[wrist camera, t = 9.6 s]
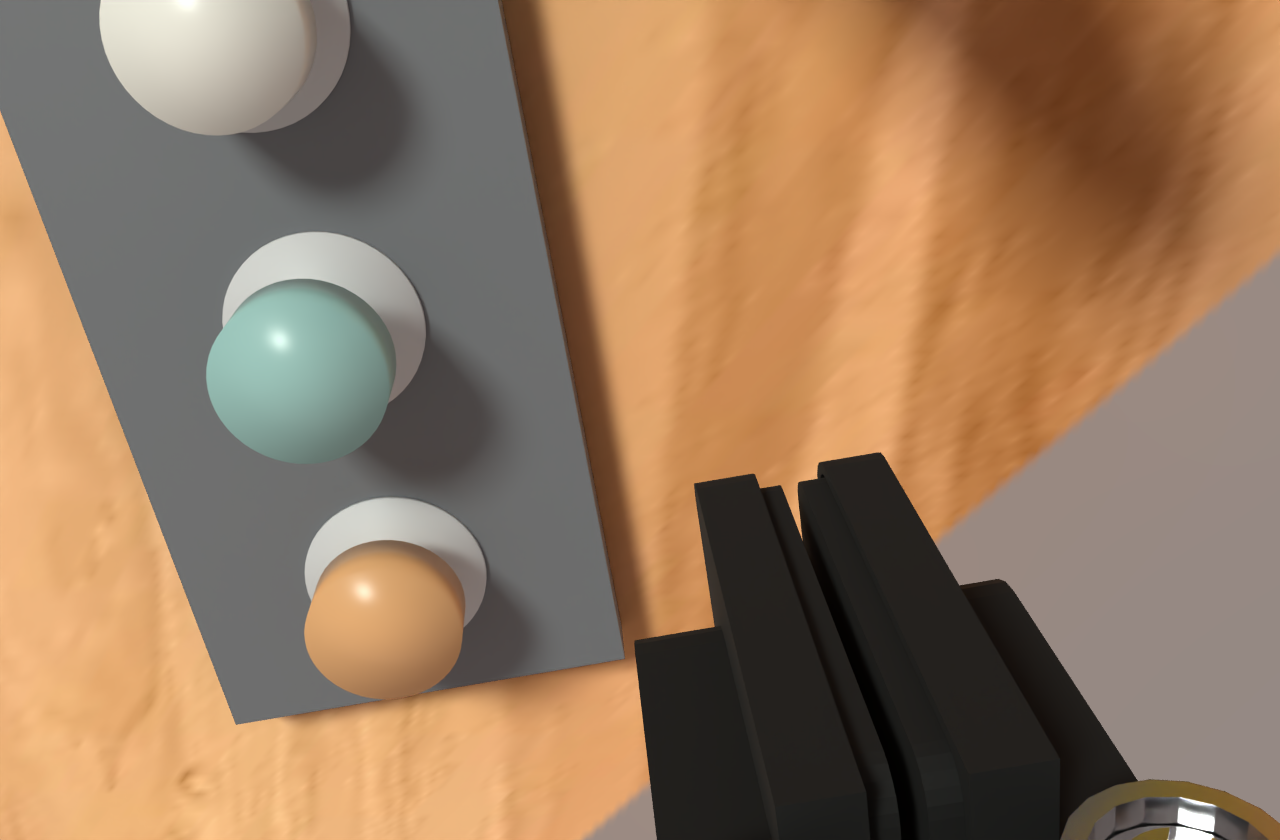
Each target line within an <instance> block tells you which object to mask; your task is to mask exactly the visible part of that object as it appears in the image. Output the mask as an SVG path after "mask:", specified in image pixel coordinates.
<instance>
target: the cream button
mask: <svg viewBox="0 0 1280 840" xmlns="http://www.w3.org/2000/svg"><path fill="white" fill-rule="evenodd" d="M99 19H100V32H101V39H102V42H103V46H104V50H105V53H106V55H107V58H108V60H109V63H110V65H111V67H112V69H113V71H114V73H115V74H116V76H117V78H118V79H119V81H120V82H121V84H122V85H123V87H124V88H125V89H126V91H127V92H128V93H129V94H130V95H131V96H132V97H133V98H134V100H135V101H137V102H138V103H139V104H140V105H141V106H142V107H143V108H144V109H146V110H147V111H148V112H150V113H151V114H152V115H154V116H155V117H157V118H158V119H160V120H162V121H164V122H166V123H167V124H169V125H172V126H174V127H176V128H179V129H181V130H185V131H188V132H192V133H196V134H203V135H216V136H221V135H231V134H236V133H240V132H244V131H247V130H250V129H252V128H255V127H257V126H259V125H260V124H262V123H264V122H266V121H267V120H268V119H270V118H271V117H272V116H274V115H275V114H276V113H277V112H278V111H279V110H281V109H282V108H283V107H284V106H285V105H286V104H287V103H288V102H289V101H291V99H292V98H293V97H294V96H295V95H296V94H297V93H298V92H299V91H300V89H301V88H302V86H303V85H304V84H305V82H306V80H307V78H308V76H309V74H310V71H311V69H312V66H313V63H314V59H315V54H316V46H317V29H316V21H315V16H314V11H313V8H312V5H311V2H310V0H101V3H100V11H99Z"/></svg>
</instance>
